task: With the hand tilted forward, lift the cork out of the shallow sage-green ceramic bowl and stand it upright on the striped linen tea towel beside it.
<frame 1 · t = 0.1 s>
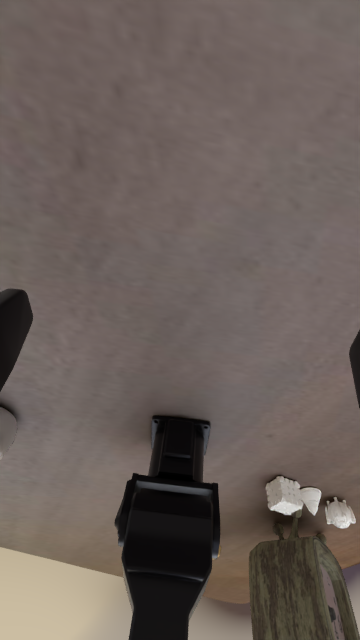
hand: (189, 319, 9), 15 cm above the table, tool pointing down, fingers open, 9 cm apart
game pieces: (309, 490, 43), on the table
tabletop clock: (289, 520, 50), on the table
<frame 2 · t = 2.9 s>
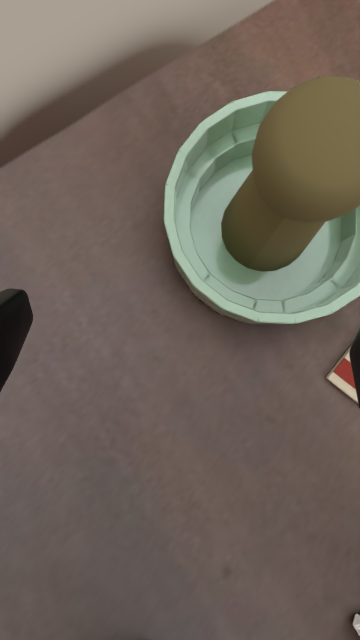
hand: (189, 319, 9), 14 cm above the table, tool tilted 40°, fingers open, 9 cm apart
cork: (264, 228, 22), resting on bowl
bowl: (264, 229, 22), on the table
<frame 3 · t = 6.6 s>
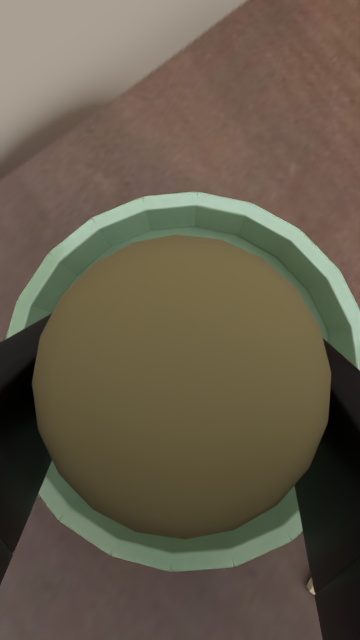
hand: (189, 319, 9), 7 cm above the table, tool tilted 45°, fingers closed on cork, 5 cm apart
cork: (185, 366, 16), resting on bowl, touching gripper
bowl: (185, 366, 16), on the table
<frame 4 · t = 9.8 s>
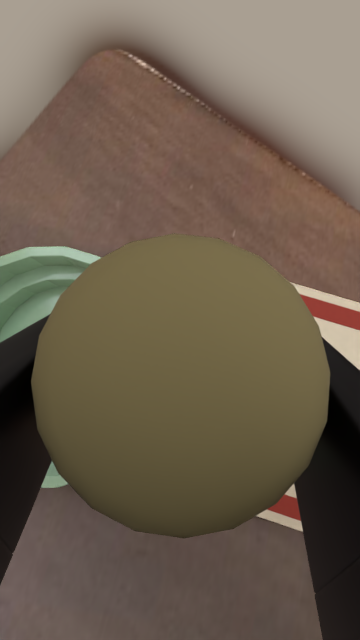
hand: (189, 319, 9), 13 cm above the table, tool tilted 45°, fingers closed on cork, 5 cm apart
towel: (278, 395, 21), on the table
cork: (185, 365, 16), point 6 cm above the table, touching gripper
bowl: (70, 361, 22), on the table
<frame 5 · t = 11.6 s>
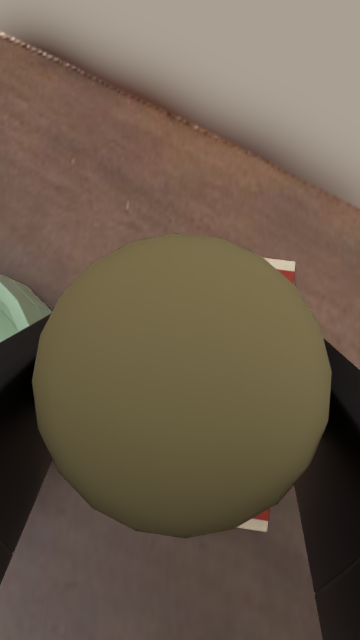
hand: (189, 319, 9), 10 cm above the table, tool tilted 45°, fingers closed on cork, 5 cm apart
towel: (201, 379, 19), on the table
cork: (185, 365, 16), point 3 cm above the table, touching gripper
when the fingers open (7 cm above the table, at t = 12.9 s): cork stays where it is, resting on towel.
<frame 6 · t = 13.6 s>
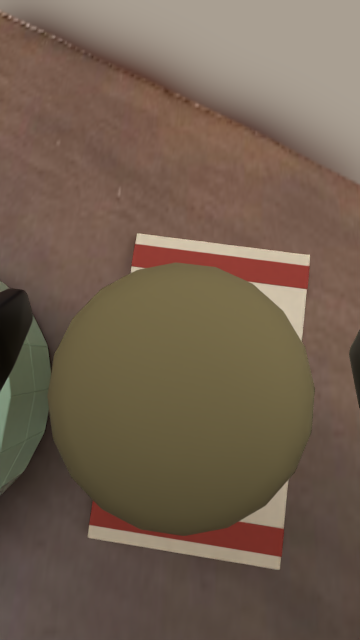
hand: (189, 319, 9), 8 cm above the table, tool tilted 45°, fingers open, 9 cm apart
towel: (203, 389, 16), on the table
cork: (185, 371, 16), resting on towel
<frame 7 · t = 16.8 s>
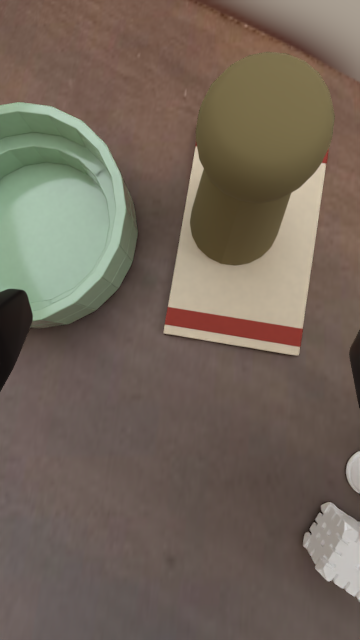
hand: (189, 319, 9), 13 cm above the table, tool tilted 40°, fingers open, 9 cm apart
towel: (246, 236, 22), on the table
cork: (233, 222, 22), resting on towel
bowl: (45, 234, 23), on the table
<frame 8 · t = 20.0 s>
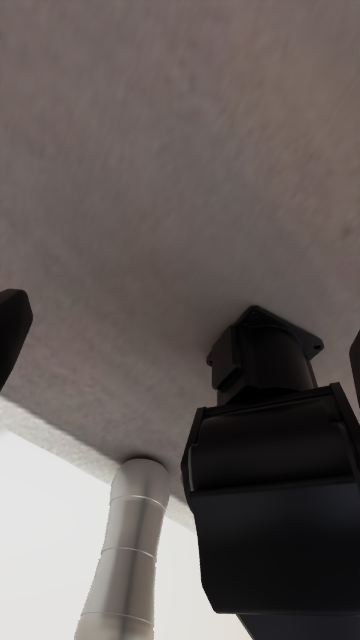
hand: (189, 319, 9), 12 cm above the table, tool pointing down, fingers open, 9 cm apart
metal bottle: (145, 464, 38), on the table
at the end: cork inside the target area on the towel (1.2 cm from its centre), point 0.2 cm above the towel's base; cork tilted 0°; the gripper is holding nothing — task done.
